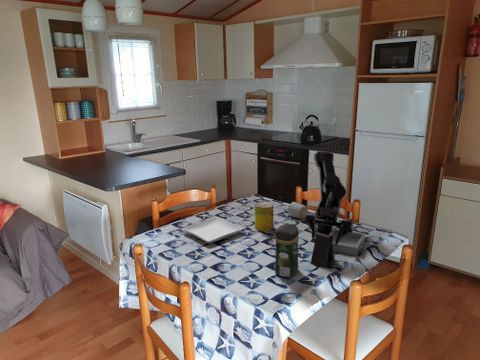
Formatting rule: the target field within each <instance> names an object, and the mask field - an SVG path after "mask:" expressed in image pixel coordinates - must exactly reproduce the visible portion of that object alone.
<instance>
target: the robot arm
mask: <svg viewBox="0 0 480 360" xmlns="http://www.w3.org/2000/svg"><path fill="white" fill-rule="evenodd" d="M334 157H335V156H334V153H333V152H331V151H329V150H328V151H325V150H324V151H323V150H322V151H321V150H320V151H316V153H314V155H313V160H314V162H315V166H316V168H317V169H318V170H319V171H318V172H319V174H318V175H319V190H320V201H319V203H318V204H317V208H316V211H315V215H314V214H308V215H306V217H305V218H304V221H305V223H306V226H308V227H309V228H310V230H311V240H312V242H315V235H316V233H318V232H321V233H324V234H328V235H329V234H330V233H331V231H332V230H333V229H334V227H336V228H338V229H339V232H338V235H337V238H336V242H335V245H337V244H338V243H339V241H340V240H341V239H342V238H343V237H344V236H345V235H346V234H349V232H350V233H352V232H354V223H353V222H352V220H350V219H349V220H348V219H341V222H339V221H338V217H339V216H340V210H341V205H342V202H343V201H344V198H345V197H346V195H347V190H346V188H345V186H344V185H343V183H342V182H341V179H340V177H339V176H338V175H336V171H335V165H334Z"/></svg>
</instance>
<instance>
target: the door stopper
mask: <svg viewBox="0 0 480 360" xmlns="http://www.w3.org/2000/svg"><path fill="white" fill-rule="evenodd" d="M332 239H333V237H332V235H328V234H324V233H321V232H318V233H317V232H316V234H315V239H314V244H313V245H314V246H313V250H312V255H311V260H310V264H312V265H313V266H317V267H320V268H324V269H325V268H326V267H328V266H329V265H330V264H332V263H333V262H335V260H336V257H335V251H334V249H333V243H332Z"/></svg>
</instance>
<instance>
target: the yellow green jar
mask: <svg viewBox="0 0 480 360" xmlns="http://www.w3.org/2000/svg"><path fill="white" fill-rule="evenodd" d="M254 229H255V230H256V231H258V230H259V232H269V231H270V232H271V231H273V229H274V203H273V202H269V201H259V202H256V203H254Z"/></svg>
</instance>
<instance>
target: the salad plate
mask: <svg viewBox="0 0 480 360" xmlns="http://www.w3.org/2000/svg"><path fill="white" fill-rule="evenodd" d="M243 229H244V228H243V227H241V226H239V225H237V224H235V223H232V222H230V221H228V220H226V219H224V218H223V219H222V218H221V217H218V216H216V217H212V218H209V219H206V220H202V221H199V222H197V223H194V224H191V225H188V226H185V227H183V228H182V230H183V231H184V232H185V233H188V234H189V235H192V236H193V237H196V238H198V239H200V240H202V242H205V243H207V244H213V243H215V242H217V241H220V240H223V239H226V238H229V237H232V236H234V235H236V234H238V233H241V232H242V231H243Z"/></svg>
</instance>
